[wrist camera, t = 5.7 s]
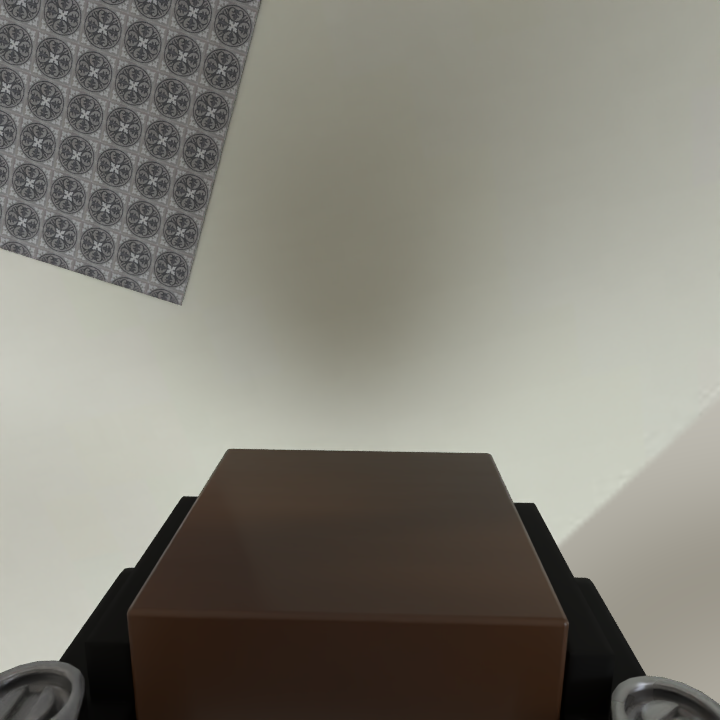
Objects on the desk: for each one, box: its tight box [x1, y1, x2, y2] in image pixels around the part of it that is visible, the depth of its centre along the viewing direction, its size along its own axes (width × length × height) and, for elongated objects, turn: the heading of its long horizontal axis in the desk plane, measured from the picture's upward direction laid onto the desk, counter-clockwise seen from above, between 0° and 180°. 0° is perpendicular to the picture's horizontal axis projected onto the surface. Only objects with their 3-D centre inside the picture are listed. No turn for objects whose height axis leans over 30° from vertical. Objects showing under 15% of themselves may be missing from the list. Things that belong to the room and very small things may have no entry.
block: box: [127, 449, 569, 720], centre depth 9 cm, size 5×5×5 cm
